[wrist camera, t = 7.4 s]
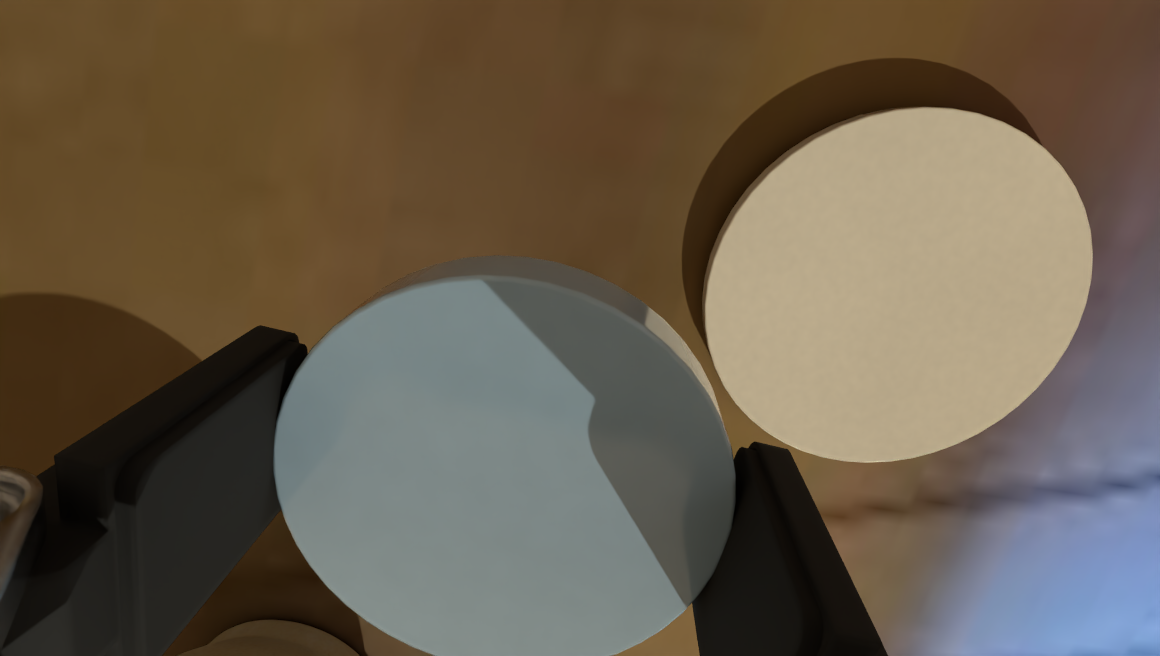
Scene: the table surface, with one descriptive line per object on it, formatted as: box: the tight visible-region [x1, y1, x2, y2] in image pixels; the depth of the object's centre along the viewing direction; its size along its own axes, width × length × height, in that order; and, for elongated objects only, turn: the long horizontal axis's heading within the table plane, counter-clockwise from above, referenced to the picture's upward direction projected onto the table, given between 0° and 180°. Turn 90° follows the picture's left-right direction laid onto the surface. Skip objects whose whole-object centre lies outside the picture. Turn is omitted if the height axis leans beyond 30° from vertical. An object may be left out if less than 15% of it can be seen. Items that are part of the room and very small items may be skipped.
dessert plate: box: [702, 106, 1093, 463], centre depth 22 cm, size 13×13×1 cm
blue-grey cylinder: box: [273, 255, 736, 656], centre depth 10 cm, size 7×7×2 cm
